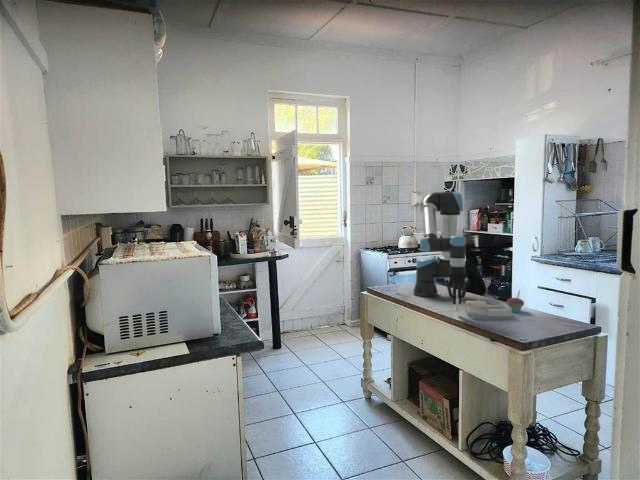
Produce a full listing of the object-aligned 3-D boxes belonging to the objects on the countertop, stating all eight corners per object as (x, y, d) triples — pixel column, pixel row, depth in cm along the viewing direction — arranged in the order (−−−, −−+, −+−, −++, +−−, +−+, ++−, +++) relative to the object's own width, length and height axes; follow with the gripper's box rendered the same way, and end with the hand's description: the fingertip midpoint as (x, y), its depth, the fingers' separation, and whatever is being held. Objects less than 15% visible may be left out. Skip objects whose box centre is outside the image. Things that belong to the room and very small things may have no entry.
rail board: (464, 311, 223) (465, 302, 223) (503, 311, 222) (503, 302, 222) (472, 319, 209) (473, 309, 209) (513, 319, 208) (514, 309, 208)
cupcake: (524, 310, 225) (525, 288, 224) (523, 313, 218) (523, 291, 217) (507, 308, 230) (507, 286, 228) (505, 311, 222) (505, 289, 221)
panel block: (465, 312, 219) (465, 300, 218) (483, 312, 218) (483, 300, 218) (468, 314, 214) (469, 303, 213) (486, 314, 213) (486, 303, 213)
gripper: (446, 267, 211) (445, 312, 213) (472, 266, 210) (471, 312, 212) (442, 264, 218) (442, 308, 221) (468, 264, 217) (467, 308, 220)
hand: (456, 310), depth 216 cm, fingers closed
